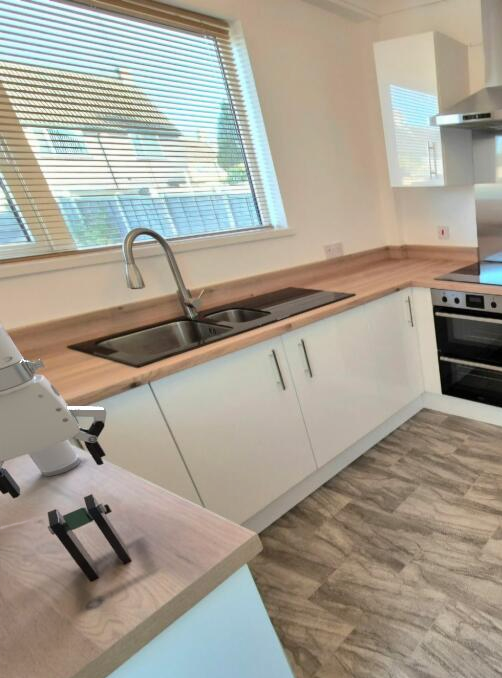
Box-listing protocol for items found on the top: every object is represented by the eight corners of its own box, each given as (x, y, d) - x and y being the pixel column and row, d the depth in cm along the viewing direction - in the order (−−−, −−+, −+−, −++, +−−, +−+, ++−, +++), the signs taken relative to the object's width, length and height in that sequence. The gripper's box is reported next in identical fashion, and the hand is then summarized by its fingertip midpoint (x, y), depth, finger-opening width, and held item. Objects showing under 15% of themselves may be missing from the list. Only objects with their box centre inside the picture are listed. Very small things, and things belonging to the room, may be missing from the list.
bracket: (76, 569, 68) (32, 509, 63) (138, 539, 74) (102, 481, 68) (84, 606, 62) (35, 543, 57) (151, 570, 67) (112, 509, 62)
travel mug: (87, 455, 98) (39, 377, 89) (72, 471, 93) (19, 390, 84) (53, 462, 96) (0, 383, 88) (36, 479, 91) (-22, 397, 82)
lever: (71, 532, 70) (63, 520, 70) (113, 513, 74) (106, 501, 74) (55, 537, 60) (46, 522, 60) (105, 515, 64) (97, 501, 64)
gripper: (73, 353, 67) (125, 443, 75) (-102, 396, 56) (-20, 497, 64) (78, 364, 62) (133, 458, 70) (-112, 414, 51) (-22, 520, 59)
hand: (60, 476), depth 67 cm, fingers open, 9 cm apart
